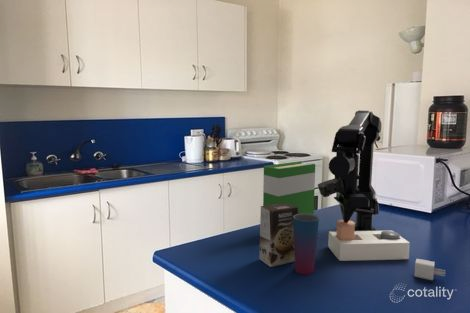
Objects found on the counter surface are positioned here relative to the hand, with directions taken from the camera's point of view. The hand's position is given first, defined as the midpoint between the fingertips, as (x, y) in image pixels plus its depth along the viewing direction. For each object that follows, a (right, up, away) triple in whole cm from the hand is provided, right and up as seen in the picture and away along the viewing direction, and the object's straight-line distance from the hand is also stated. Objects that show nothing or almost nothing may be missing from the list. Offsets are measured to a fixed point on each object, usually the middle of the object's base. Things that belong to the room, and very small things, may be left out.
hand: (345, 222), depth 111 cm
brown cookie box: (-21, -11, -4) cm, 24 cm away
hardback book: (-14, -7, +20) cm, 26 cm away
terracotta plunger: (0, -5, +1) cm, 6 cm away
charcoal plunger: (+14, -9, +2) cm, 17 cm away
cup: (-14, -11, -10) cm, 21 cm away
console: (+7, -10, +2) cm, 12 cm away
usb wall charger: (+18, -12, -14) cm, 26 cm away
